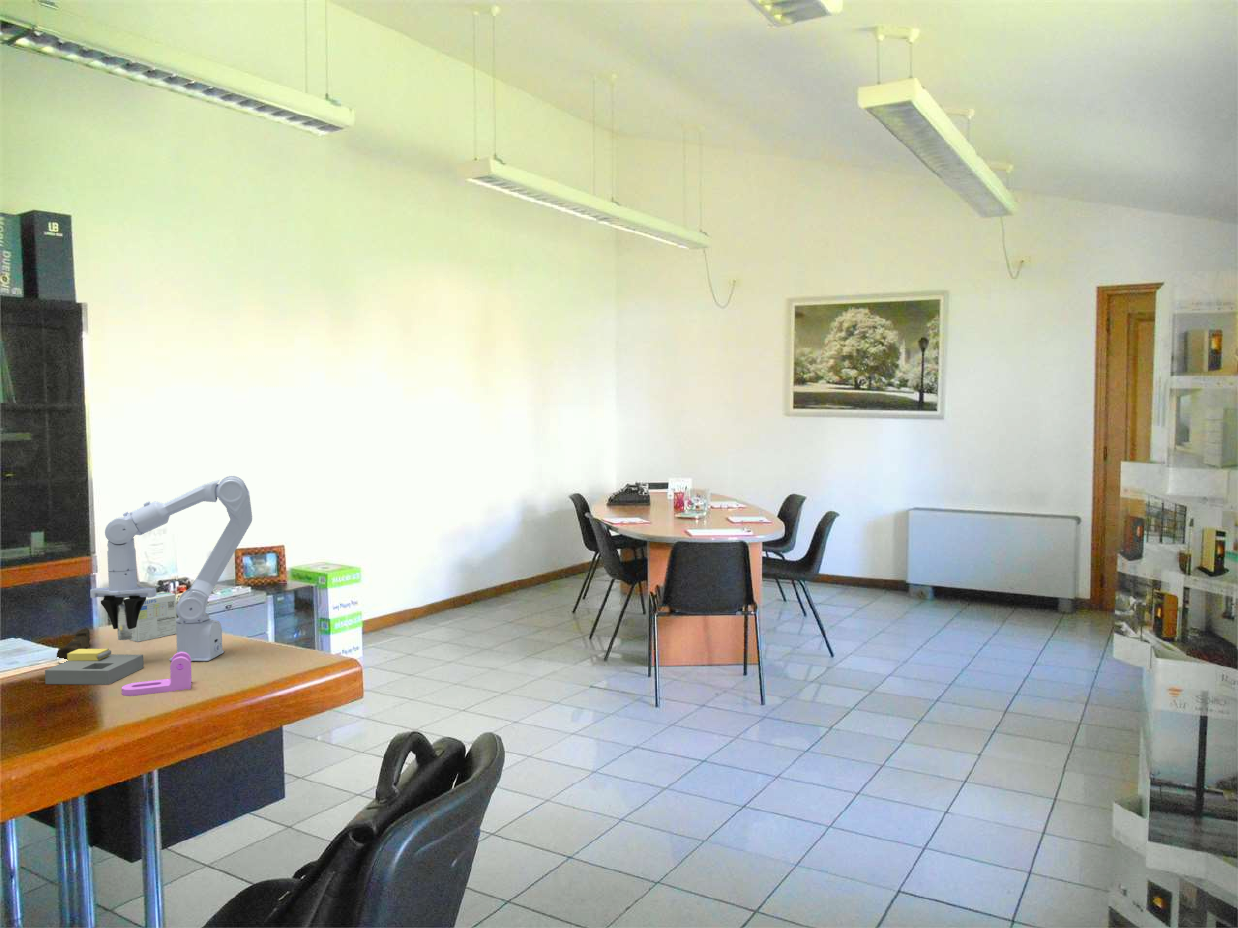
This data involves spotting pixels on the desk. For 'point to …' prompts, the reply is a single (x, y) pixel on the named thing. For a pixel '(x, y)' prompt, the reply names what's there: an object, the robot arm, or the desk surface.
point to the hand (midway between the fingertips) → (124, 628)
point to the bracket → (177, 681)
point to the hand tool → (76, 643)
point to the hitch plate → (94, 670)
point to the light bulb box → (156, 617)
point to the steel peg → (123, 623)
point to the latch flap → (88, 654)
